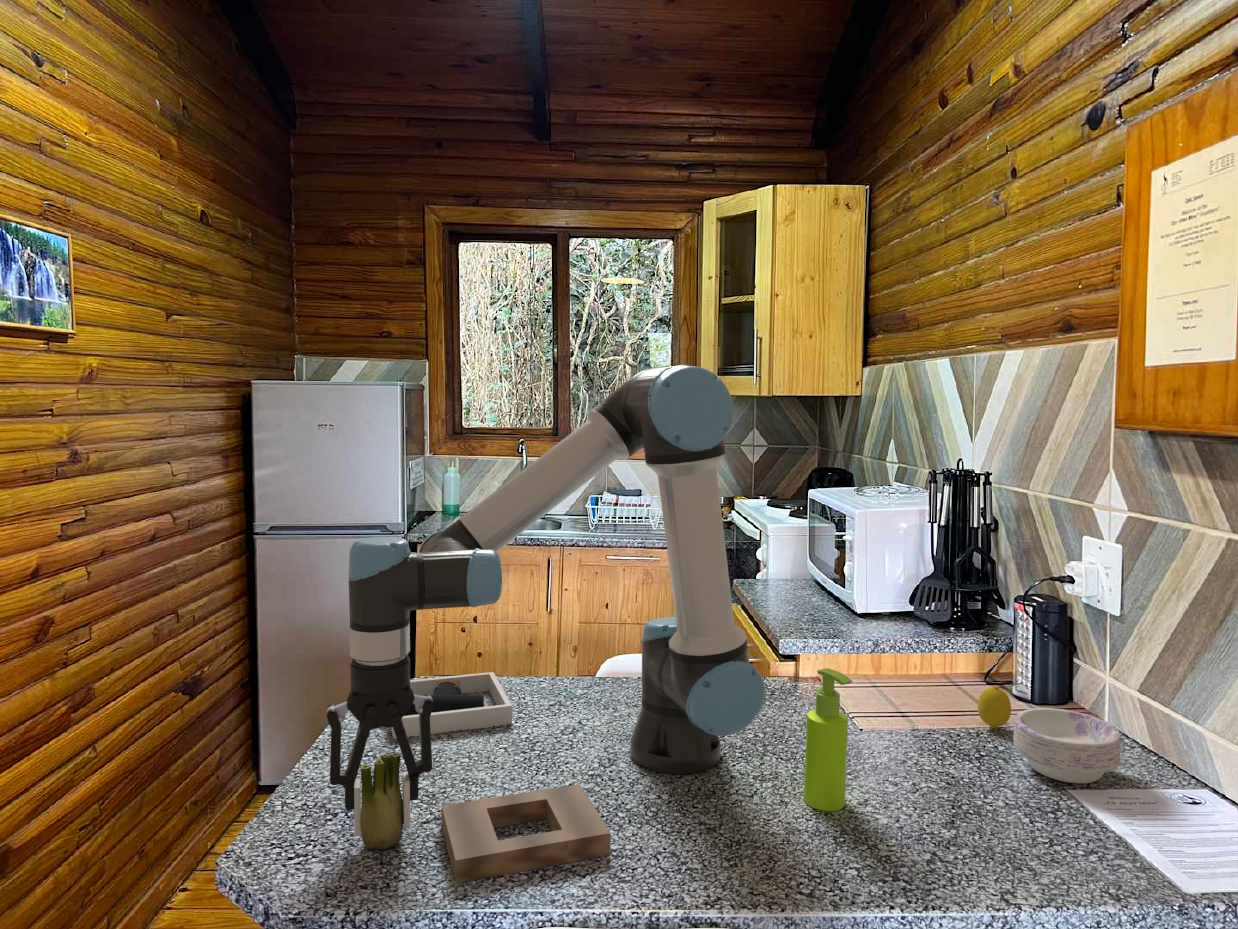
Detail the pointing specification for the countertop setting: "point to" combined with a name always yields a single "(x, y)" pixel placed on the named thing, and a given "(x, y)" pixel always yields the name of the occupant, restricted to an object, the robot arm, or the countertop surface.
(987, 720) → the lemon
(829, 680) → the soap dispenser
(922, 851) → the countertop surface
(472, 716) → the parts tray
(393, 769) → the fennel bulb
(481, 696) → the pipe connector
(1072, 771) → the paper bowls
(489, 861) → the jig block
